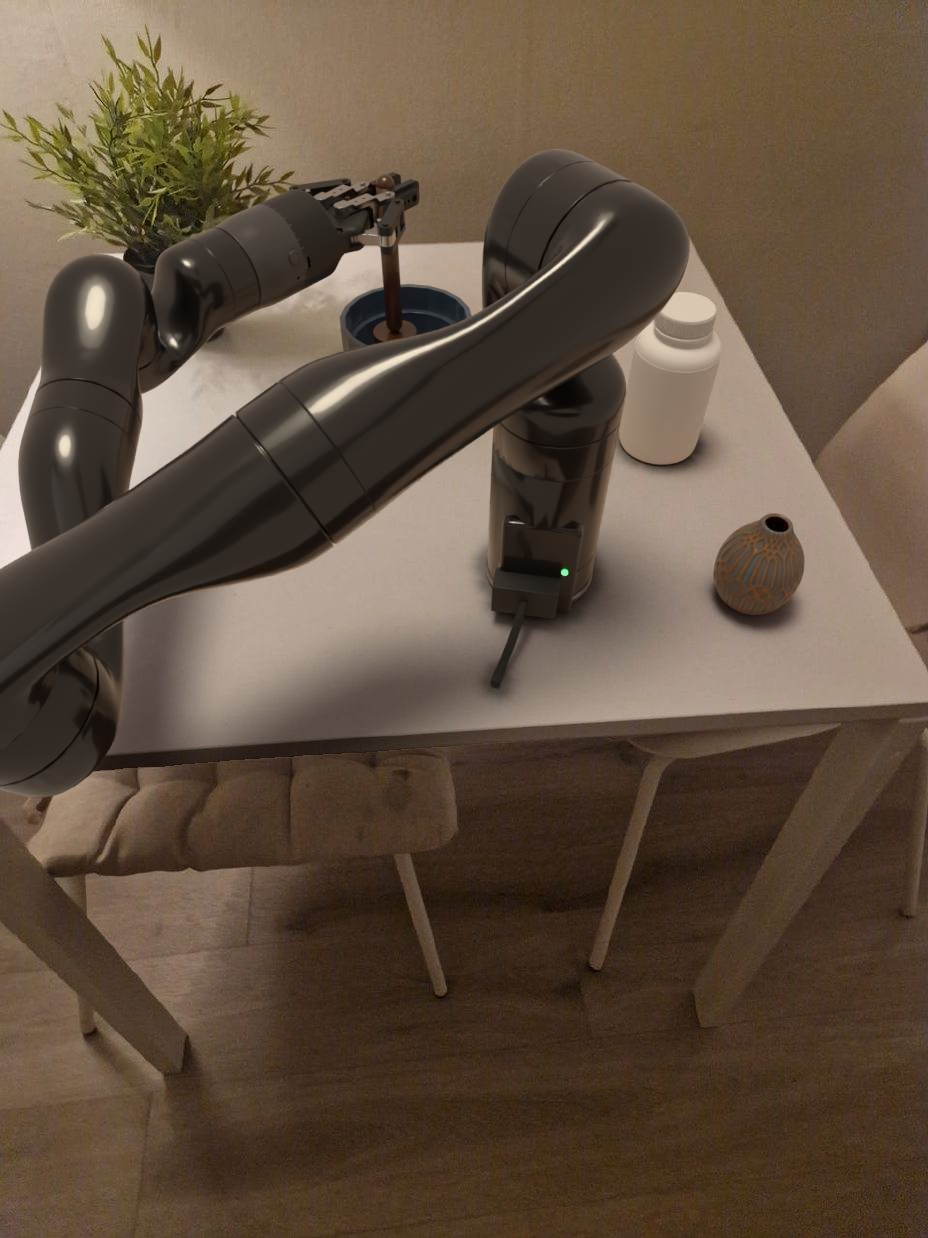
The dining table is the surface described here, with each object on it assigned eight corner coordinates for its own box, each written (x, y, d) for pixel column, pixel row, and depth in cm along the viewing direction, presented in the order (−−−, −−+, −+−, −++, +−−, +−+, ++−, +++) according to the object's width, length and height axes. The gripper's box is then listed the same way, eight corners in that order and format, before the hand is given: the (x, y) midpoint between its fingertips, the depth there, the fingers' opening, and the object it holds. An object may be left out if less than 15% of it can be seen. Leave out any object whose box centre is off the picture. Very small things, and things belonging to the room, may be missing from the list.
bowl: (459, 410, 85) (459, 360, 81) (331, 396, 87) (324, 347, 82) (479, 338, 94) (480, 289, 89) (363, 326, 95) (358, 278, 91)
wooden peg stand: (412, 369, 87) (403, 187, 73) (370, 364, 88) (353, 183, 73) (421, 345, 90) (415, 166, 76) (380, 341, 91) (366, 162, 76)
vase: (728, 635, 66) (759, 562, 59) (691, 576, 70) (716, 501, 63) (802, 618, 67) (841, 545, 60) (762, 561, 71) (794, 486, 65)
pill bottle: (604, 426, 84) (628, 290, 72) (673, 412, 85) (707, 277, 73) (637, 473, 79) (668, 336, 67) (709, 458, 80) (752, 322, 69)
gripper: (231, 268, 75) (361, 206, 83) (333, 319, 69) (461, 247, 78) (212, 183, 69) (353, 126, 77) (322, 232, 63) (461, 164, 72)
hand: (407, 187), depth 77 cm, fingers closed on wooden peg stand
